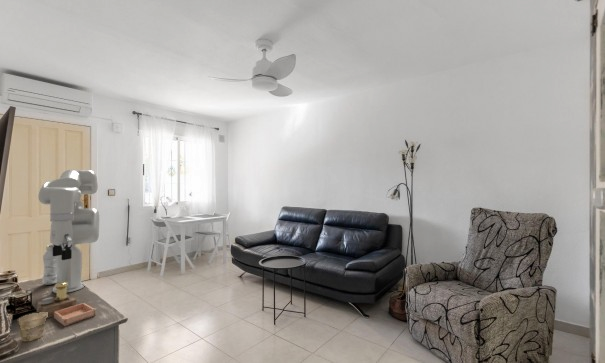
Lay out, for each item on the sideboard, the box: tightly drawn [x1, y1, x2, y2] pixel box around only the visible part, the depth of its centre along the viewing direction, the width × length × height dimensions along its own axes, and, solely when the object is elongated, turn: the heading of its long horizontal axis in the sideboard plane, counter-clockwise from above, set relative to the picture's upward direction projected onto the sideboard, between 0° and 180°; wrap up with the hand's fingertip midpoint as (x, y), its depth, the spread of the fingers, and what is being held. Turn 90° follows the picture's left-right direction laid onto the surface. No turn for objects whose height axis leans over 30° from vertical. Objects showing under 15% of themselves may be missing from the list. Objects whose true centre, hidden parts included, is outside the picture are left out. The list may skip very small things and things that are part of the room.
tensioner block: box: [36, 293, 77, 319], centre depth 118 cm, size 10×10×6 cm
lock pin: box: [54, 282, 68, 303], centre depth 120 cm, size 4×4×11 cm
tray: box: [53, 302, 96, 327], centre depth 113 cm, size 11×10×2 cm
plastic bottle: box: [42, 244, 57, 286], centre depth 147 cm, size 6×7×20 cm
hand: (61, 257), depth 119 cm, fingers open, 9 cm apart
